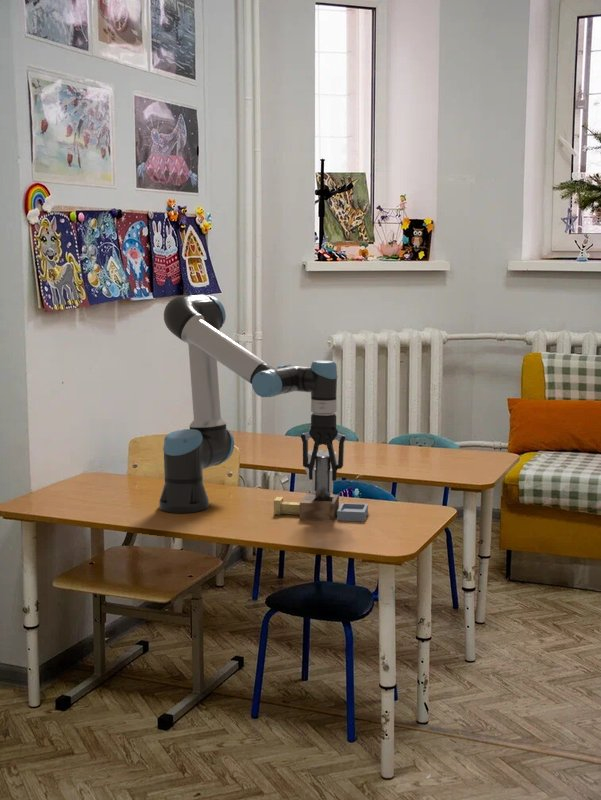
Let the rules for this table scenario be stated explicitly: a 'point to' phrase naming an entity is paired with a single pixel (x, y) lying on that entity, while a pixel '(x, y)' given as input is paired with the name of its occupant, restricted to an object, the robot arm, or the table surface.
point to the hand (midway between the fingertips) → (322, 490)
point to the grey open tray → (352, 512)
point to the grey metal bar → (322, 478)
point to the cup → (320, 452)
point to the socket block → (319, 508)
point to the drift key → (286, 507)
